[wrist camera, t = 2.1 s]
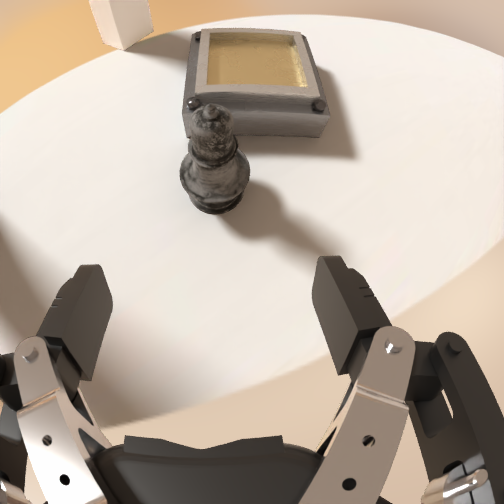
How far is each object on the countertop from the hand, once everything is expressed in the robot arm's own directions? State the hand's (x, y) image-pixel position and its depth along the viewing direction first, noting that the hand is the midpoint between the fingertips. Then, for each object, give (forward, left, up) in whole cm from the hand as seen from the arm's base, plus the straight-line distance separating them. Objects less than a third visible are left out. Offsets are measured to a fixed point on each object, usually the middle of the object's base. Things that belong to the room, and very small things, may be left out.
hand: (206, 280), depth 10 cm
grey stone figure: (0, +10, -15) cm, 18 cm away
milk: (-14, +38, -15) cm, 43 cm away
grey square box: (+4, +23, -14) cm, 27 cm away
